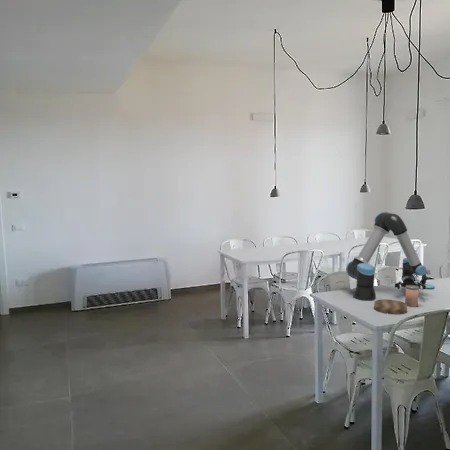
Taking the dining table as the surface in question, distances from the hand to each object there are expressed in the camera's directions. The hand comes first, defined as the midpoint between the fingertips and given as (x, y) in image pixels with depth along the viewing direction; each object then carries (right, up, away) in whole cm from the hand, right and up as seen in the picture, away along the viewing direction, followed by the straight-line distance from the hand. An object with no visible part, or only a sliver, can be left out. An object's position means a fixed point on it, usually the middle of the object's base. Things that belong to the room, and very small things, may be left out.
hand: (411, 289), depth 329 cm
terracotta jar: (-3, -10, -8) cm, 13 cm away
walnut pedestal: (-21, -11, -19) cm, 30 cm away
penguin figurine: (+24, -4, +44) cm, 50 cm away
